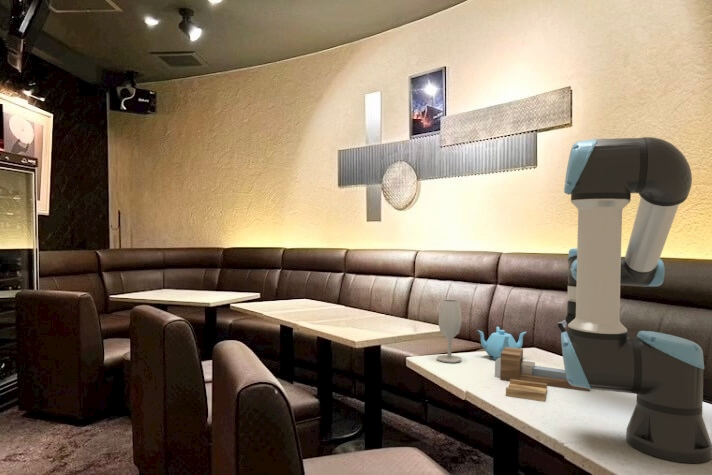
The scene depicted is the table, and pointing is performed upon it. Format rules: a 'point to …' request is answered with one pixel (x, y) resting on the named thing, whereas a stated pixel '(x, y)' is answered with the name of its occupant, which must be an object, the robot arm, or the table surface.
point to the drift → (549, 372)
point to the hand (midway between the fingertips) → (579, 380)
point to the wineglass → (449, 326)
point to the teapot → (499, 342)
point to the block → (525, 367)
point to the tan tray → (527, 390)
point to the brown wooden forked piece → (512, 371)
